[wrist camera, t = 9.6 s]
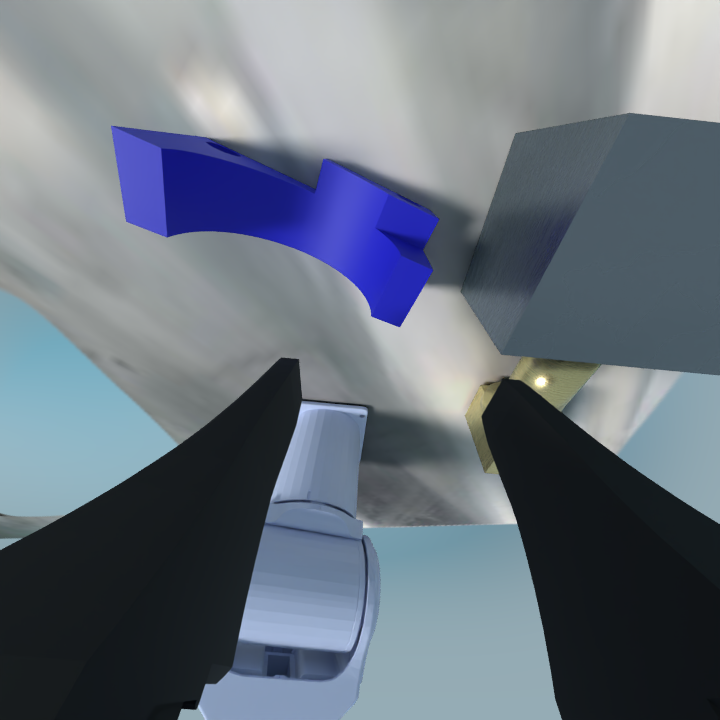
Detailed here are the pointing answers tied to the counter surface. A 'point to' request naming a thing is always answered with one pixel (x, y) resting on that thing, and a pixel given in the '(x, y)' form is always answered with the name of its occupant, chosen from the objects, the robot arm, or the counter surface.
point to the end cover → (542, 376)
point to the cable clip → (280, 211)
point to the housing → (605, 245)
